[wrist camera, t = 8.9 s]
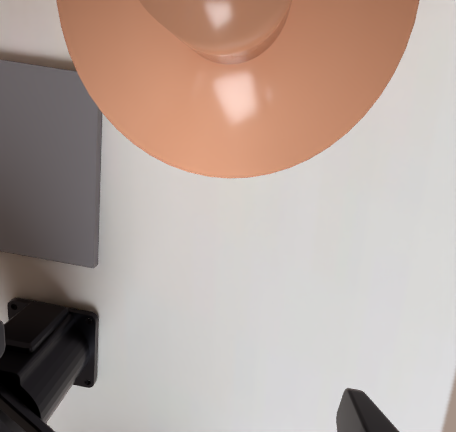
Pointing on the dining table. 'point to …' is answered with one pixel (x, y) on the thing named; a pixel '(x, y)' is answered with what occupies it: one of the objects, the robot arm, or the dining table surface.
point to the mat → (49, 165)
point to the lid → (235, 74)
